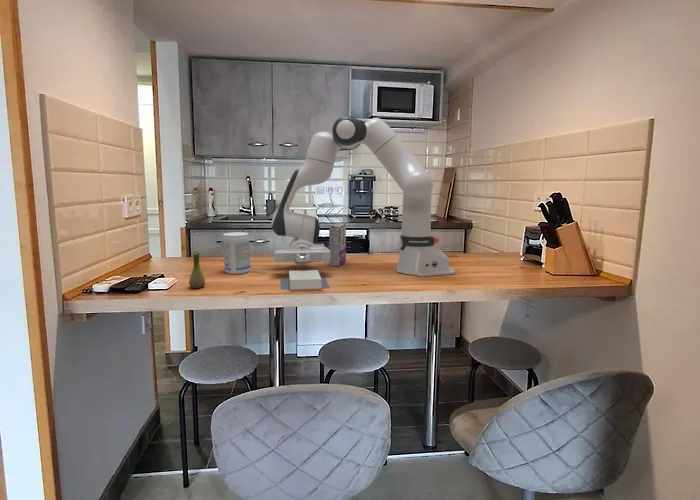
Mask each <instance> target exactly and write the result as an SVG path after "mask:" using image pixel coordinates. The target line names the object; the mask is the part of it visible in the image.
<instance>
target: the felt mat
mask: <svg viewBox="0 0 700 500" xmlns="http://www.w3.org/2000/svg"><path fill="white" fill-rule="evenodd" d="M320 277H321V276H320ZM321 279H322V290H323V289H326V290H327V289H331V287H330V285H329V283H328V281H327V279H326V276H325V277H321ZM279 280H280V290H281V291H282V290H283V291H285V290H289V291H290V284H289V277H286V278H285V277H284V278H279Z"/></svg>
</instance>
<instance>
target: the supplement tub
mask: <svg viewBox="0 0 700 500" xmlns="http://www.w3.org/2000/svg"><path fill="white" fill-rule="evenodd" d="M222 239H223V240H222V241H223V242H222V243H223V261H224V262H223V264H224V272H225V273H226V274H229V275H239V274H241V275H242V274H247V273H249V272H250V271H251V251H250V248H251V247H250V246H251V245H250V236H249V233H248V232H246V231H245V232H244V231H243V232H242V231H239V232H238V231H237V232H233V231H232V232H225V233H223V237H222Z"/></svg>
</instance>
